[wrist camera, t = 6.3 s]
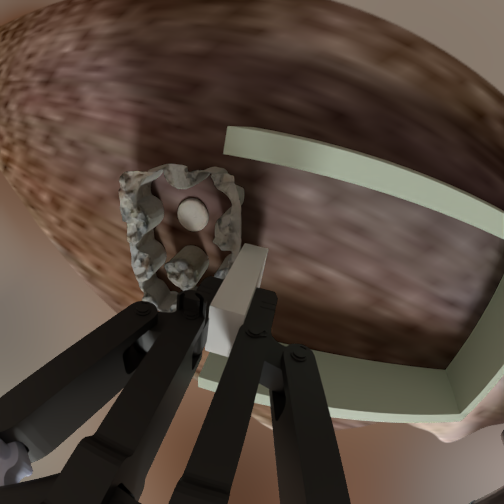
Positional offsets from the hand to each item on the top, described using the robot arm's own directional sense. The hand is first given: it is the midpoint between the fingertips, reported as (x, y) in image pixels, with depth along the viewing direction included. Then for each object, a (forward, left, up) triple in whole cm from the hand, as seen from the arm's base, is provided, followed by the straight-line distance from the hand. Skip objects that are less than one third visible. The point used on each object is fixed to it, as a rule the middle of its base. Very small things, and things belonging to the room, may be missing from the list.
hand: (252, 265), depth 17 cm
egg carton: (+4, 0, -2) cm, 5 cm away
